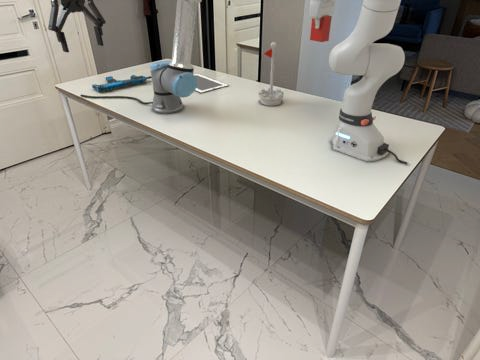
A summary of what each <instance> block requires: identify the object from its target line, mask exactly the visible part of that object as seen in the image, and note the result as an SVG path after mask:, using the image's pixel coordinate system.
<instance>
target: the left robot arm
mask: <svg viewBox="0 0 480 360" xmlns="http://www.w3.org/2000/svg"><path fill="white" fill-rule="evenodd" d="M202 1H203V0H176V10H175V22H174V31H173V42H172V52H171V60H162V61H155V62H152V63H151V64H150V68H149V69H150V76H151V77H152V78H151V82H152V83H151V84H152V88H153V98H152V101H147V102H145V101H142V100H140V99H139V98H137V97H134V96H125V95H102V96H101V95H99V96H96V95H87V94H80V97H84V98H90V99H131V100H135V101H137V102H139V103H140V104H142V105H151V107H152V108H151V109H152V111H153V112H155V113H157V114H161V115H170V114H174V113H175V114H176V113H178V112H180V111H182V110H183V109H184V104H183V101H182V98H183V99H185V98H188V97H190V96H191V95H192V94H194V92H196V91H195V89H196V86H197V80H196V78H195V76H194V71H195V70H194V69H195V67H194V66H193V64H192V58H193V50H194V41H195V33H196V24H197V14H198V7H199V6H198V5H199V4H200V3H201V2H202ZM85 4H87V6H88V7H89V9H90V10H89V9H88V8H87V7H86V6H85ZM50 5H51V8H50V15H49V20H48V27H47V30H48V31H50V32H51V31H52V32H54V33H55V37H56V39H57V42H58V43H60V45H61V48H62V52H64V53H70V50H69V46H68V42H67V38H66V35H65V32H64V31H63V28H64V26H65V24H66V21H67V19H68V17H69V15H70V14H75V13H82V14H83V15H85V17H87V18H88V19H89V20H90V21H91V22H92V23H93V24H94V26H93V29H94V34H95V39H96V43H97V45H98V46H100V47H103V46H104V41H103V36H104V31H103V26H104V25H106V20H105V18H104V16H103V15H102V14H101V12H100V10H99V9H98V7H97V5H96V4H95V1H94V0H50ZM60 6H62V8H61V12H60V14H59V11H60ZM90 11H92V13H91V12H90Z"/></svg>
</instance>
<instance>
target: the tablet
mask: <svg viewBox="0 0 480 360" xmlns="http://www.w3.org/2000/svg"><path fill="white" fill-rule="evenodd" d="M193 75H194V76H195V78H196V80H197V86H196V89H195V91H194V92H198V93H200V94H203V93H206V92H211V91H215V90H217V89H222V88H225V87H229V84H226V83H224V82H221V81H219V80H216V79H214V78H210V77H207V76H206V75H202V74H199V73H193Z"/></svg>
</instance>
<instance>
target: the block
mask: <svg viewBox="0 0 480 360" xmlns="http://www.w3.org/2000/svg"><path fill="white" fill-rule="evenodd" d="M332 17H333V16H332V15H329V16H328V15H327V16H324V17H321V18H320V28H318V29H317V28H315V25H316V24H315V19H313V18H311V25H310V35H309V41H312V42H319V43H324V42H329V40H330V33H331V27H332Z"/></svg>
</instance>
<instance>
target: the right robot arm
mask: <svg viewBox="0 0 480 360" xmlns="http://www.w3.org/2000/svg"><path fill="white" fill-rule="evenodd" d="M401 2H402V0H362V4H361V8H360V13H359V15H358V19H357V22H356V25H355V27H354V28H353V30H352V31H351V33H350V34H349V35H348V36H347V37H346V38H345V39H344V40H342V41H341V42H339V43H337V44H336V45H334V46H333V48H332V49H331V50H330V52H329V54H328V55H329V56H328V65H329V67H330V69H331V71H332V72H333V73H336V74H340V75H344V76H362V78H361V79H360V80H359V81H357V82H355V83H352V84H350V85H349V86H348V87H346V89H345V90H344V92H343V98H342V103H341V108H340V109H339V113H338V122H337V123H338V124H337V127H336V130H335V132H334V135H333V137H332V139H331V144H332V149H333V150H334V151H336V152H340V153H343V154H344V155H345V154H346V155H348V156H351V157H354V158H356V159H359V160H361V161H365V162H374V161H379V160H381V159H383V158H385V157H387V155H388V154H391V155H392V156H393V157H394V158H395V160H396V161H397V162H399V163H400V164H405V165H408V161H404V160H401V159H400V158H399V156H398V155H397V154H396V153H394V152H393V151H392V150H389V147H390V143H386V142H385V138H384V135H383V134H382V133H381V131H379V128H377V126H376V125H375V124H374V121H375V120H376V119H377V116H373V113H372V109H373V105H374V101H375V98H376V95H377V93H378V91H379V90H380V88H381V87H382V85H383V84H384V83H385V82H386V81H387V80H389V79H390V78H392V77H393V76H395V75H397V74H398V73H399V72H400V71H401V70H402V68H403V66H404V64H405V61H406V55H405V51H404V50H403V47H401V46H399V45H397V44H391V43H382V42H381V43H378V42H377V43H375V42H376V41H378V40H381V39H383V38H385V37H386V36H387V35H388V34H390V32H391V31H392V30H393V27H394V25H395V22H396V19H397V15H398V12H399V9H400V7H401ZM335 7H336V0H310V2H309V12H308V14H309V18H310V19H312V18H313V19H315V24H316V25H315V28H317V29H318V28H320V18H321V17H324V16H327V15H328V16H332V15H334V13H335Z"/></svg>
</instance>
